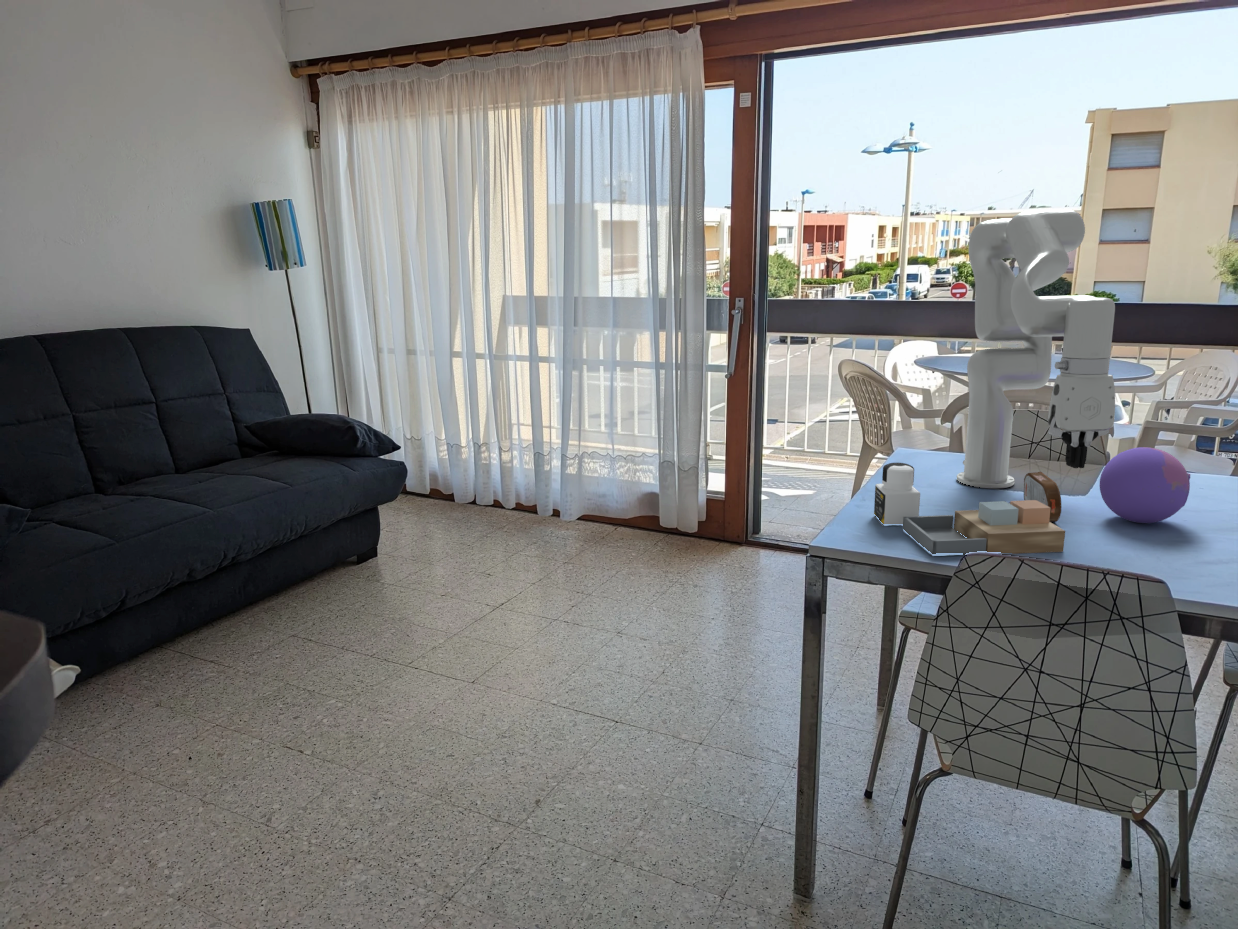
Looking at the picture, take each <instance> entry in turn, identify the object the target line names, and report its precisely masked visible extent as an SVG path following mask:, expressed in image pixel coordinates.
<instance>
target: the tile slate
mask: <svg viewBox="0 0 1238 929" xmlns="http://www.w3.org/2000/svg"><path fill="white" fill-rule="evenodd" d="M978 510H979V512H978V518H980V519H982V520H983V521H985V522H986V523H988V524H989V525H1015V524H1017V521H1018V510H1019V509H1018V508H1016V507H1014V506H1013V505H1011V504H1010V502H1007V501H1005V500H1002V501H979V503H978Z"/></svg>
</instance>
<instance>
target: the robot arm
mask: <svg viewBox="0 0 1238 929" xmlns="http://www.w3.org/2000/svg"><path fill="white" fill-rule="evenodd" d="M1085 234H1086V225H1085V222H1084V219H1083V217H1082V216H1081V214H1080V213H1079V212H1077V211H1075V210H1074V209H1069V208H1063V209H1062V208H1059V209H1031V210H1025V211H1022V212H1019V213H1018V214H1015V215H1014V216H1013V217H1012V218H996V219H989V220H984V221H982V222H979V223H978V224H977V225H975V227H973V229H972V231H971V233H970V236H969V241H968V256H969V262H970V266H971V270H972V272H973V277H974V287H975V288H974V289H975V290H974V291H975V293H974V294H975V295H974V327H975V328H974V330H975V334H976V337H977V338H978V340H980V341H982V342H986V343H987V342H988V343H1021V342H1022V344H1023V347H999V348H998V347H997V348H996V347H995V348H994V347H993V348H984V349H979V350H978V351H976V352H974V353H972V354H971V355H970V356H969V359H968V361H967V364H966V365H967V368H966V369H967V382H968V411H967V412H968V414H967V426H966V440H965V441H966V442H965V454H964V460H963V461H962V465H963V466H964V467H963V468H964V469H963V472H959V473H957V474H956V478H957V479H956V481H957V480H958V481H959V482H958V481H957V482H958V483H960V482H961V483H960V484H962V483H963V484H962V485H964V484H966V485H965V486H968V485H970V486H969V487H972V486H974V488H979V487H980V489H981V488H982V489H1005V488H1009V487H1012V486H1014V485H1015V482H1016V481H1015V478H1014V477H1013V476H1012V475H1009V465H1010V454H1011V441H1012V434H1013V433H1012V432H1013V431H1012V430H1013V421H1014V408H1013V405H1012V403H1011V402H1010V400H1009V399H1008V397H1007V396H1006V395H1005V392H1004V391H1011V390H1012V391H1014V390H1036V389H1040V388H1043V387H1044V386H1046V385H1047V384H1048V382H1049V380H1050V377H1051V372H1052V353H1053V352H1052V350H1053V349H1052V347H1053V337H1063V342H1062V353H1061V354H1062V355H1061V357H1060V361H1056V362H1055V363H1054V368H1055V370H1059V372H1060V374H1057V375H1056V378H1055V381H1054V384H1053V387H1052V391H1051V395H1050V401H1049V407H1048V414H1047V415H1048V416H1047V424H1048V426H1049V428H1048V431H1047V434H1048V435H1049V436H1051V437H1054V438H1055V437H1056V438H1060V440H1062V442H1063V443H1064V444H1065V445H1066V450H1065V456H1064V457H1065V464H1066V466H1067V467H1071V468H1073V469H1084V468H1085V465H1086V462H1087V454H1088V447H1091V446H1092V443H1093V441H1095V439H1096V438H1098V437H1101V436H1105V435H1108V434H1109V432H1110V430H1111V429H1112V428H1113V427H1114V424H1115V418H1116V417H1115V415H1116V388H1115V382H1114V376H1113V374H1109V370H1110V362H1111V360H1110V359H1111V358H1110V357H1111V351H1112V341H1113V333H1114V332H1113V331H1114V324H1115V323H1114V322H1115V313H1116V304H1115V301H1114V300H1113V299H1112V298H1109V297H1096V296H1094V295H1086V294H1084V295H1079V294H1078V295H1040V296H1039V295H1036V293H1035V292H1034V291H1036V290H1039V289H1041V288H1044V287H1045V286H1048V285H1050V284H1052V283H1054V282H1056V281H1057V280H1058V279H1060V278H1061V277H1062V276H1063V275H1064V274H1065V273H1066V272H1067V270H1068V269H1069V268H1068V267H1069V265H1070V258H1069V255H1068V253H1070V252H1073V251H1075V250H1076V249H1077V248H1079V247H1080V245H1082V242H1083V240H1084V238H1085ZM1003 259H1015V260H1016V264H1017V265H1018V268H1019V269H1020V271H1019V273H1018V274H1017V276H1016V275H1015V273H1014V272H1013V270H1012V269H1011V267H1010V266H1009V265H1008V263H1006V262H1005V260H1003Z"/></svg>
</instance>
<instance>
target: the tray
mask: <svg viewBox="0 0 1238 929" xmlns="http://www.w3.org/2000/svg"><path fill="white" fill-rule="evenodd" d="M903 529H904V530H905V531H906V532H907V533H908V534H909V535H911V536H912V537H913V538H914V539H915V540H916V541H917V542H918V543H920V544H921V545H922V546H923V547H925V548H926V549H927V550H928V551H930V552H931V553H932V554H936V553H963V555H965V554H966V553H969V552H977V551H986V541H987V539H986V538H974V539H967V538H965V537H964V536H963V535H961V534H960V533H959V532H957V531H956V530H955V529H954V515H953V514H946V515H945V514H942V515H919V516H912V517H903V526H902V530H903Z"/></svg>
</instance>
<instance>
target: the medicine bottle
mask: <svg viewBox="0 0 1238 929" xmlns="http://www.w3.org/2000/svg"><path fill="white" fill-rule="evenodd" d="M881 476H882V481H881V483H876V484H875V487H874V489H875V490H874V506H873V507H874V508H873V515H874V514H875V515H876V516H877V517H878V518H879V520H880V521H881V522H882V523H883V524H903V517H912V516H920V504H921V492H920V491H919V490H918V489H916V488H915V487H914V484H915V483H914V481H915V479H914V478H915V467H913V465H911V464H909V463H906V462H905V463H904V462H891V463H890V462H889V463H886V464H885V465H883V466H882V475H881Z"/></svg>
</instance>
